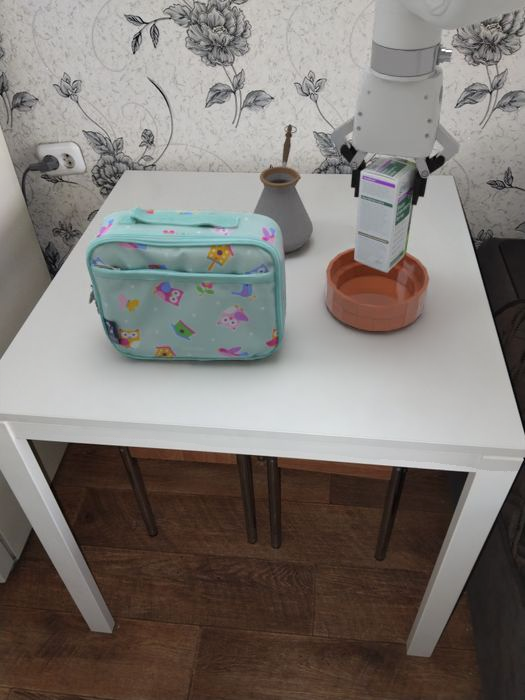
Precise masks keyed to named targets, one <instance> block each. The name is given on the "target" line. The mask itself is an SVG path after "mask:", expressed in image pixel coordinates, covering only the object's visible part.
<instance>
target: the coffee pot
mask: <svg viewBox="0 0 525 700" xmlns="http://www.w3.org/2000/svg"><path fill="white" fill-rule="evenodd" d="M286 128H287V129H286ZM293 128H294V129H295V131H293ZM283 129H284V132H285V134H284V136H285V140H284V143H283V148H282V158H281V159H282V160H281V163H282V165H281V166H273V167H268V168H266V169H264V170H263V171H262V172H261V173H260V174H259V180H260V182H261V183H262V184H263V189H262V191H261V194H260V197H259V199H258V201H257V204H256V206H255V208H254V210H253V214H260V215H264V216H267V217H269V218H271V219H273V220H274V221H275V222H276V223H277V224H278V226H279V228H280V230H281V233H282V238H283V244H284V254H290V253H292V252H295V251H296V250H298V249H299V248H300V247H302V246H303V245H304V244H306V243H307V242H308V241H309V239H310V238H311V236H312V233H313V230H314V226H313V222H312V220H311V218H310V216H309V213H308V212H307V209H306V207H305V205H304V203H303V201H302V199H301V196H300V194H299V192H298V190H297V188H296V186H297V184H298V183H299V181H300V180H301V177H302V176H301V175H300V173H299V172H298V171H297V170H295V169H294V168H291V167H287V164H288V162H289V161H288V160H289V156H290V152H291V145H292V142H291V141H292V140H291V139H292V137H293V134H295V133H296V132H298V131H297V130H298V128H297V127H296V126H294V125H292V124H291V123H290V124H288V125H286V126H284V128H283Z"/></svg>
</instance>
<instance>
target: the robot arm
mask: <svg viewBox="0 0 525 700" xmlns="http://www.w3.org/2000/svg"><path fill="white" fill-rule="evenodd" d="M524 8H525V0H375V5H374V17H373V31H372V40H371V50H370V51H371V52H370V53H371V54H370V61H368V62H367V63H366V64H365V66H364V69H363V72H362V76H361V80H360V84H359V89H358V95H357V100H356V106H355V113H354V116H352V117H351V118H349V119H348V120H346V121H345V122H343V123H342V124H341V125H339V126H338V127H336V128H335V129H334V130H333V131H332V132H331V134H330V140H331V141H332V142H333V144H334V145H335V146H336V148H337V149H338V150H339V153H340V154H341V156H342V157H343V158H344V159H345V160H346V161H347V163H348V164H349V168H350V169H351V180H350V188H351V189H354V193H353V194H354V195H353V197H354V198H358V199H359V187H360V173H361V171H362V170H363V169H365V168H366V167H367V162H366V160H365V159H366V157H367V155H368V154H374V155H380V156H381V155H389V156H394V157H399V158H408V159H413V160H414V163H416V166H417V168H418V171H417V174H416V177H415V182H414V189H413V195H412V202H411V204H413V206H417V205H418V203H419V198H425V194H426V190H427V189H426V188H427V183H428V179H429V177H430V175H432V173H434V172H436V171H437V170H439V169H440V168H442V167H443V166H444V165H445V164H446V163H447V162H449V160H451V159H452V158H453V157H455V156H456V155H457V154H458V153H459V151H460V145H461V144H460V143H459V142H458V141H457V140H456V139H455V138H454V137H453V136H452V135H451V133H450V132H449V131H448V130H447V129H446V128H445V127H444V126H443V125H442V124H441V123H440V119H441V111H442V105H443V103H442V102H443V94H444V93H443V92H444V69H443V67H442V66H440V64H444V63H451V60H452V56H453V48H447V47H446V46H444V44H443V43H442V35H443V30H447V31H454V30H459V29H464V28H466V27H470V26H473V25H476V24H480V23H483V22H485V21H487V20H489V19H492V18H493V19H494V18H496V17H501V16H503V15H506V14H509V13H513V12H516V11H520V10H521V9H524ZM351 133H352V137H351V138H352V139H351V142H352V143H351V142H350V141H348V139H347V137H346V136H348V135H349V134H351ZM436 141H437V142H438V143H439V145H440V146H442V148H443V149H442V150H441V151H439V152H438V153H436V154H435V155H433V156H432V157H431V156H430V155H431V154H432V152H433V150H434V149H433V148H434V146H435V143H436Z"/></svg>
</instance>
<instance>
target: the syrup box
mask: <svg viewBox="0 0 525 700" xmlns="http://www.w3.org/2000/svg"><path fill="white" fill-rule="evenodd" d="M417 171H418V168H417V166H416V163H415V161H411V160H408V159H406V158H403V157H398V156H389V155H381V154H380V156H379V157H378V158H377V159H375V160H374V161H372V162H371V163H370V164H368V165H366V168H365V169H363V170H362V171H361V173H360V187H359V197H358V200H357V212H356V227H355V239H354V240H355V241H354V248H355V252H354V260H356V261H358V262H360V263H362V264H365V265H367V266H370V267H372V268H375V269H378V270H380V271H383V272H386V273H388V272H389V270H390V269H391V268H392V267H394V266H395V265H396V264H397V263H398V262H399V261H400V260H401V259H402V258H403V256H404V255H406V252H407V250H408V243H409V237H410V230H411V223H412V217H413V211H414V205H413V204H411V202H412V195H413V189H414V182H415V177H416V174H417Z"/></svg>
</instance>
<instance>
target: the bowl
mask: <svg viewBox="0 0 525 700" xmlns="http://www.w3.org/2000/svg"><path fill="white" fill-rule="evenodd" d="M354 252H355V247H352V248H349V249H346V250H344V251H342V252H340V253H338V254H337V255H335V257H333V258H332V259H331V260H330V261H329V263H328V265H327V268H326V271H325V284H324V285H325V286H324V288H325V289H324V299H325V305H326V307H327V309H328V310H329V312H330V313H331V314H332V315H333V316H334V317H335V318H337V319H338V320H339V321H340V322H341V323H343V324H345V325H348V326H350V327H353V328H355V329H358V330H362V331H363V330H364V331H369V332H390V331H393V330H398V329H402V328H404V327H406V326H408V325H410V324H412V323H414V322H415V321H416V320H417V319H418V318H419V317H420V316H421V314H422V313H423V310H424V306H425V302H426V296H427V291H428V286H429V283H430V276H429V273H428V270H427V268H426V267H425V265H424V264H423V263H422V262H421V261H420V260H419V259H418V258H416V257H415V256H413V255H412V254H410V253H408V252H407V251H406V255H404V256H403V258H402V259H401V260H400V261H399V262H398V263H397V264H396V265H395V266H394V267H392V268H391V269H390V270H389V272H388V273H386V272H383V271H380V270H378V269H375V268H372V267H370V266H367V265H365V264H362V263H360V262H358V261H356V260H354Z"/></svg>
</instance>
